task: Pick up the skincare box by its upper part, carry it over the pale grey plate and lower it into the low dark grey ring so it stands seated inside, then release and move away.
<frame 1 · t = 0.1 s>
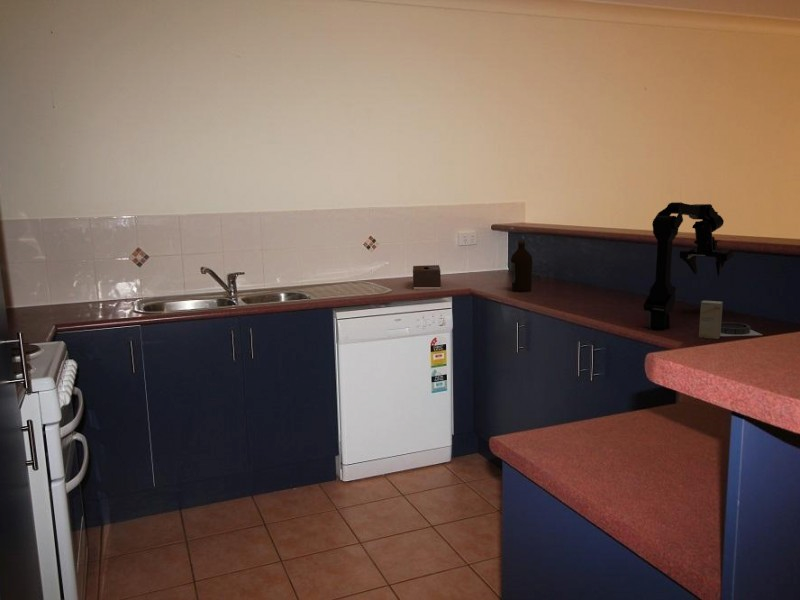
hand: (707, 275, 256), 15 cm above the counter, tool pointing down, fingers open, 9 cm apart
skincare box: (709, 338, 220), on the counter
tissue box cover: (426, 286, 360), on the counter
dark grey ring: (731, 331, 226), resting on grey base plate
olive oil: (521, 291, 332), on the counter
grey base plate: (731, 332, 227), on the counter
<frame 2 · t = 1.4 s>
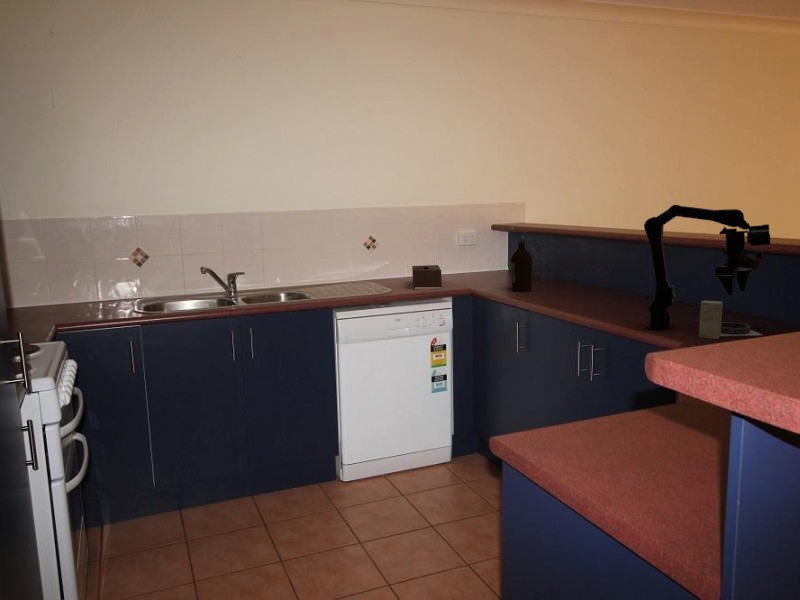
hand: (736, 293, 223), 14 cm above the counter, tool pointing down, fingers open, 9 cm apart
nothing on the counter moved.
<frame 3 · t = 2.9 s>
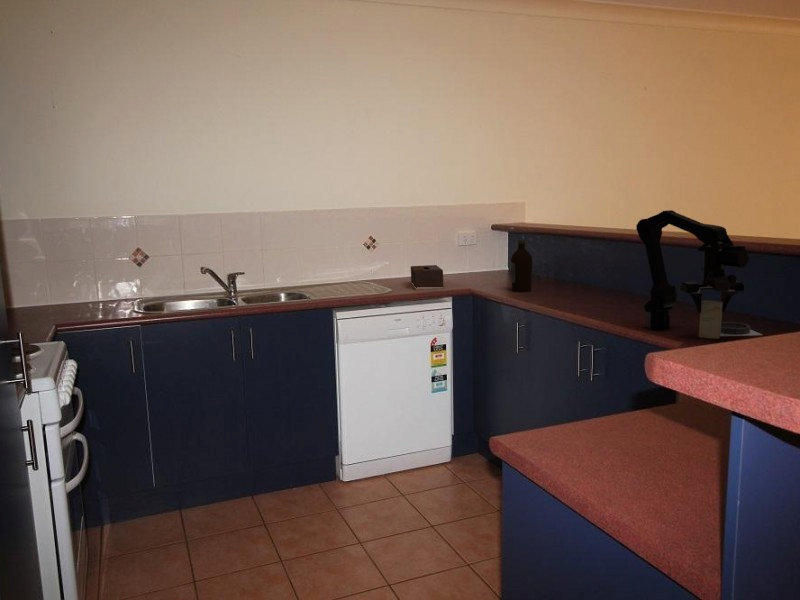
hand: (711, 312, 218), 9 cm above the counter, tool pointing down, fingers closed on skincare box, 7 cm apart
skincare box: (709, 338, 220), on the counter, touching gripper
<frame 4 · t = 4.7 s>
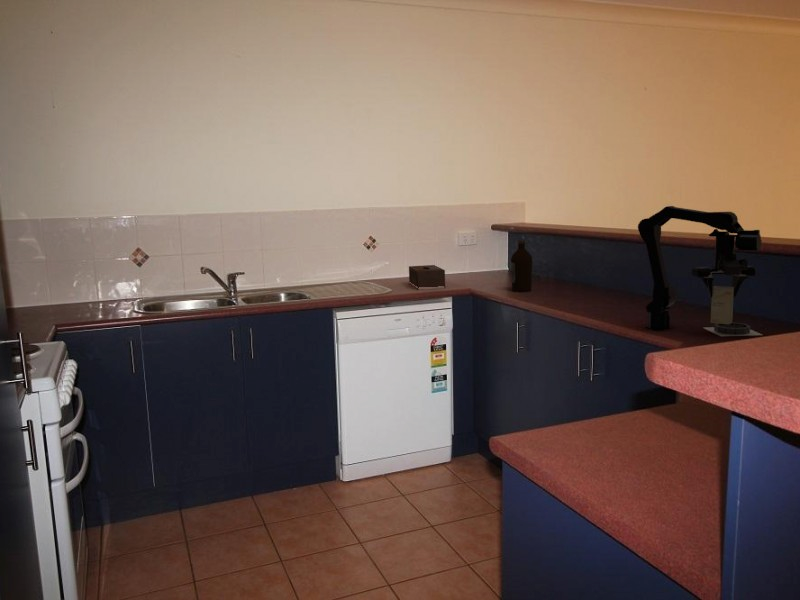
hand: (722, 297, 221), 13 cm above the counter, tool pointing down, fingers closed on skincare box, 7 cm apart
skincare box: (721, 323, 222), point 4 cm above the counter, touching gripper
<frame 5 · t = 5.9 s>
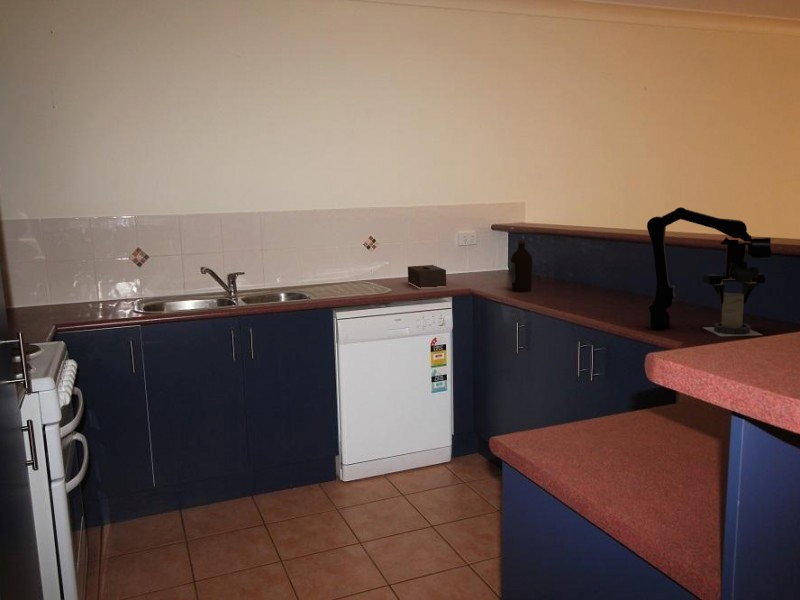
hand: (732, 303, 225), 10 cm above the counter, tool pointing down, fingers closed on skincare box, 7 cm apart
skincare box: (731, 329, 226), point 1 cm above the counter, touching gripper
when the fingers open (9 cm above the counter, at t = 6.5 s): skincare box stays where it is, resting on grey base plate.
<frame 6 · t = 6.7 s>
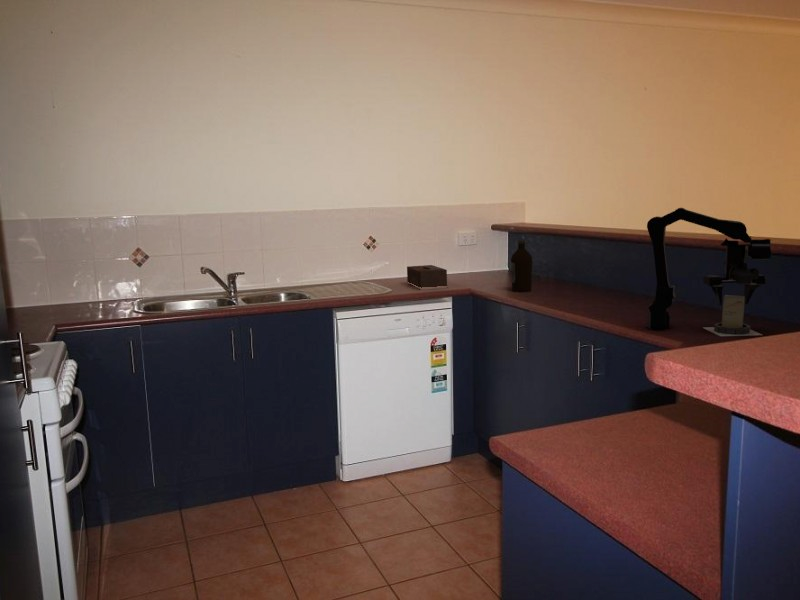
hand: (733, 305, 225), 9 cm above the counter, tool pointing down, fingers open, 8 cm apart
skincare box: (732, 331, 226), resting on grey base plate
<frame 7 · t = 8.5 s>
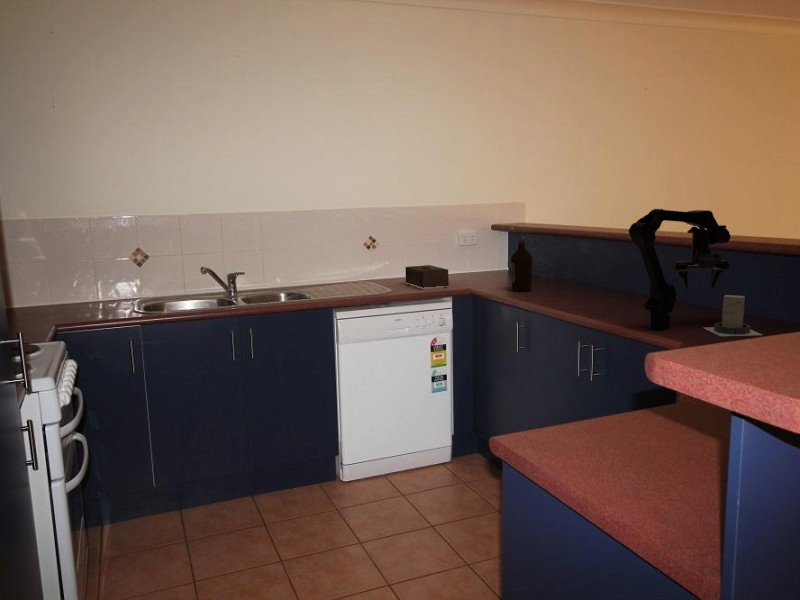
hand: (698, 288, 240), 13 cm above the counter, tool pointing down, fingers open, 9 cm apart
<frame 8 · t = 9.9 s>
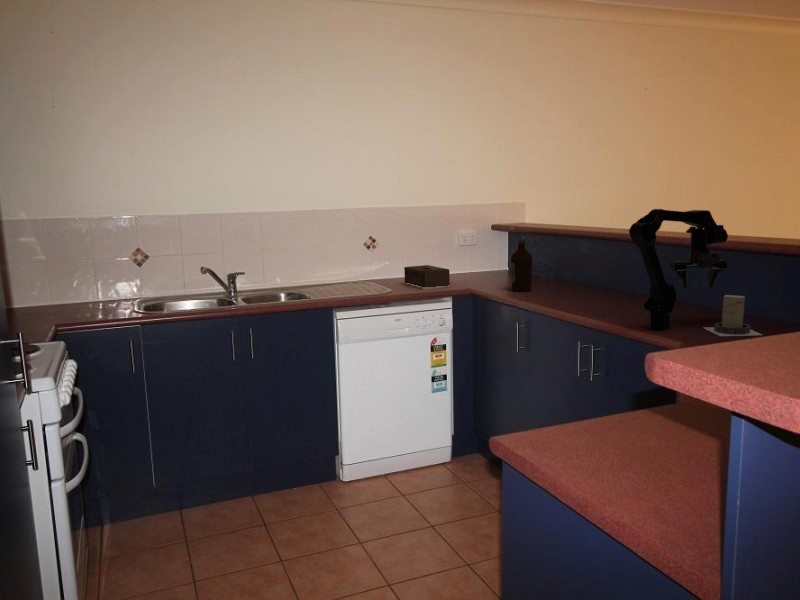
hand: (697, 288, 240), 13 cm above the counter, tool pointing down, fingers open, 9 cm apart
at the end: skincare box 0.1 cm off-centre on the dark grey ring, point 0.0 cm above the dark grey ring's base; skincare box tilted 0°; the gripper is holding nothing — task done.
